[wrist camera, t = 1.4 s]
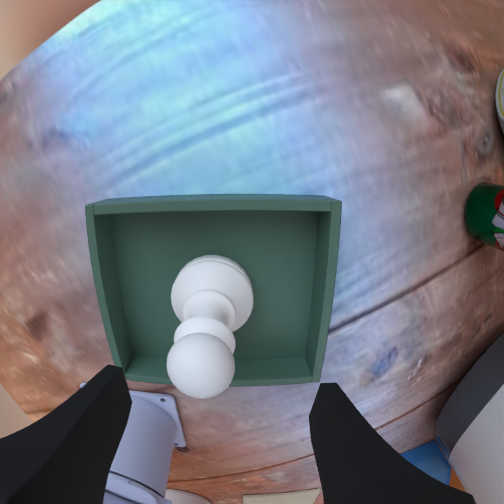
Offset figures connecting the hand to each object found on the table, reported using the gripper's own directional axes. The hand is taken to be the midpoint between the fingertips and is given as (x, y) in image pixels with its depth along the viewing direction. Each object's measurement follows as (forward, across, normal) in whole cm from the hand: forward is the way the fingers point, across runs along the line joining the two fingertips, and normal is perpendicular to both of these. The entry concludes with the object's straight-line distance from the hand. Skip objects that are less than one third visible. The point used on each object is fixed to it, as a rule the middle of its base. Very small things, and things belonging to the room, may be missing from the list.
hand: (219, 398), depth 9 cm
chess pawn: (+10, +1, 0) cm, 10 cm away
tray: (+10, +1, +1) cm, 10 cm away
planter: (+11, -32, +12) cm, 36 cm away
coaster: (+8, -8, +38) cm, 40 cm away
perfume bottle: (+9, -28, +29) cm, 41 cm away
